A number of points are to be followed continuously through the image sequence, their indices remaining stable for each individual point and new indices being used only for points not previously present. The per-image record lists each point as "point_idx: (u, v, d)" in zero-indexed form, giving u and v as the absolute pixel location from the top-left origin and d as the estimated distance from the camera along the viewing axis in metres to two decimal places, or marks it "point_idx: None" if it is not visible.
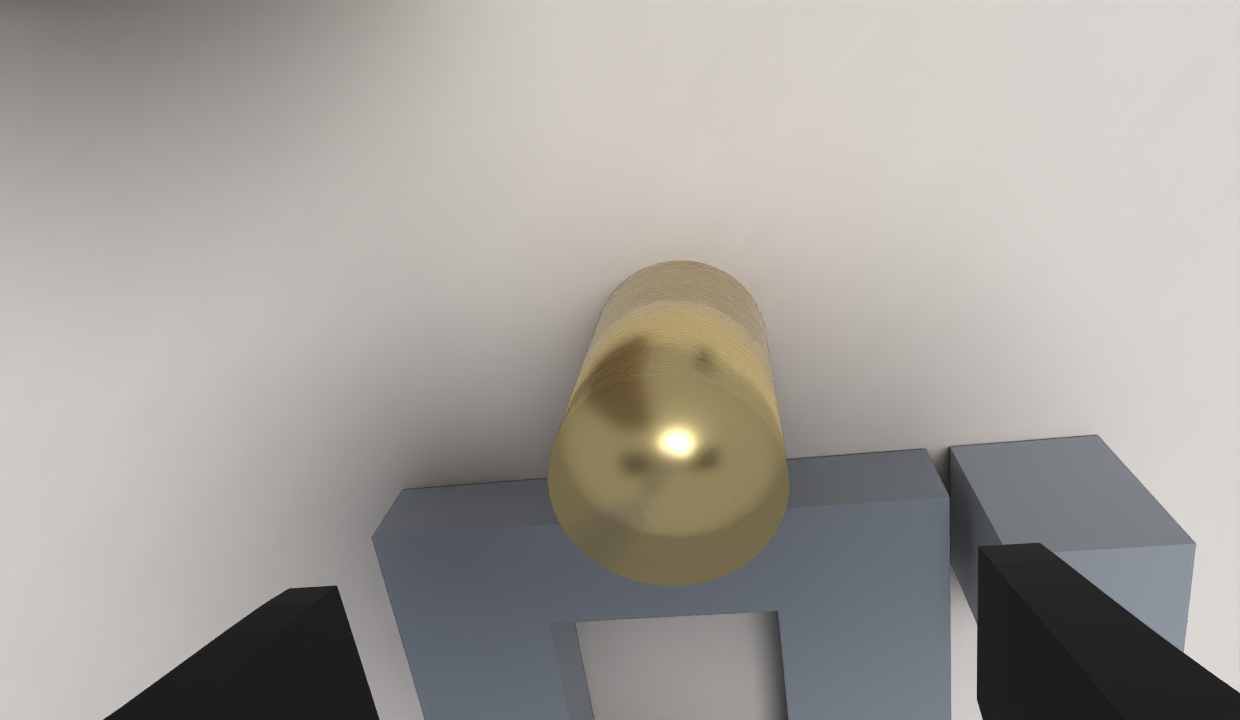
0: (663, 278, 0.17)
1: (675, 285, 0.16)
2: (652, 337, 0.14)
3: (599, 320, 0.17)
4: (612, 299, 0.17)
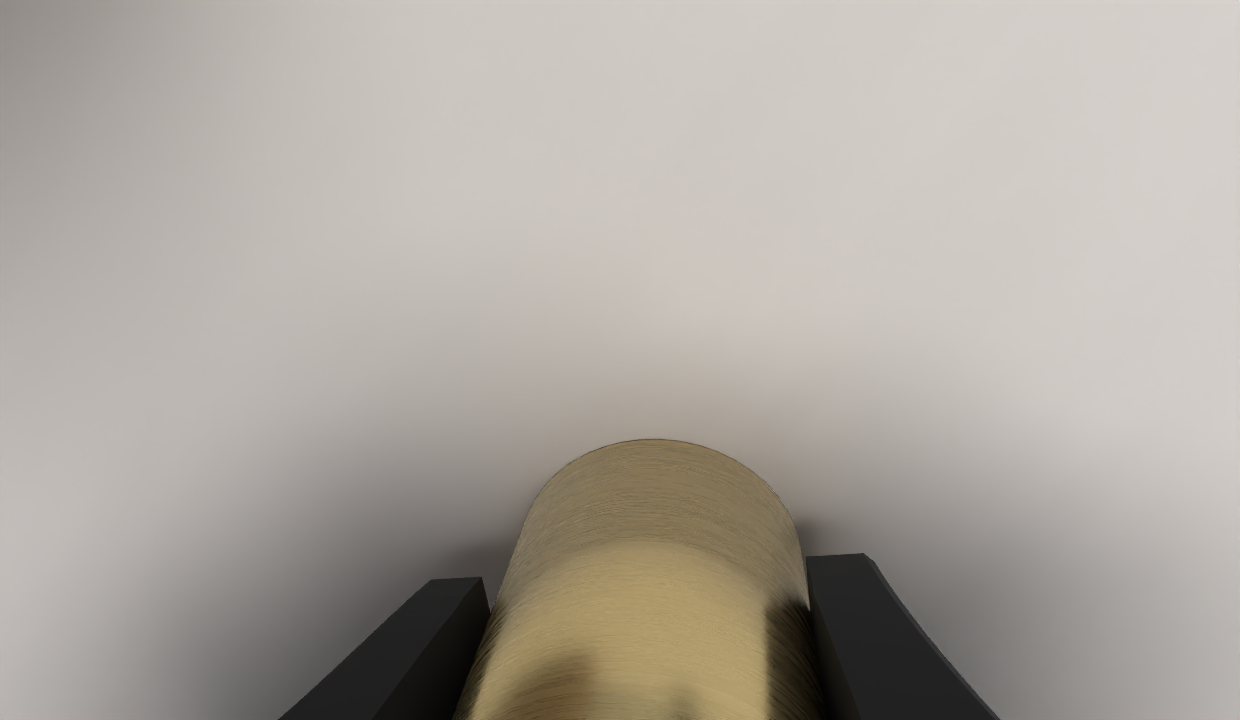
0: (624, 491, 0.09)
1: (644, 515, 0.09)
2: None
3: (516, 545, 0.10)
4: (538, 511, 0.10)
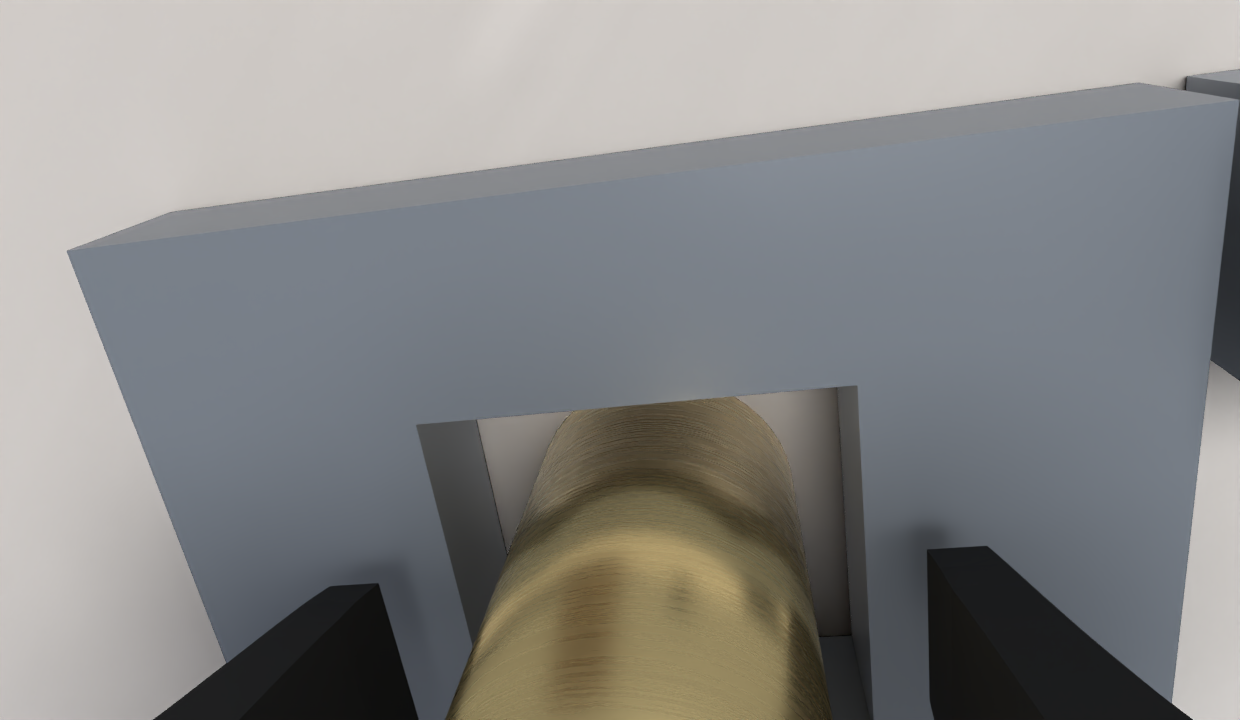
0: (638, 416, 0.11)
1: (656, 434, 0.10)
2: (607, 577, 0.08)
3: None
4: (560, 438, 0.11)
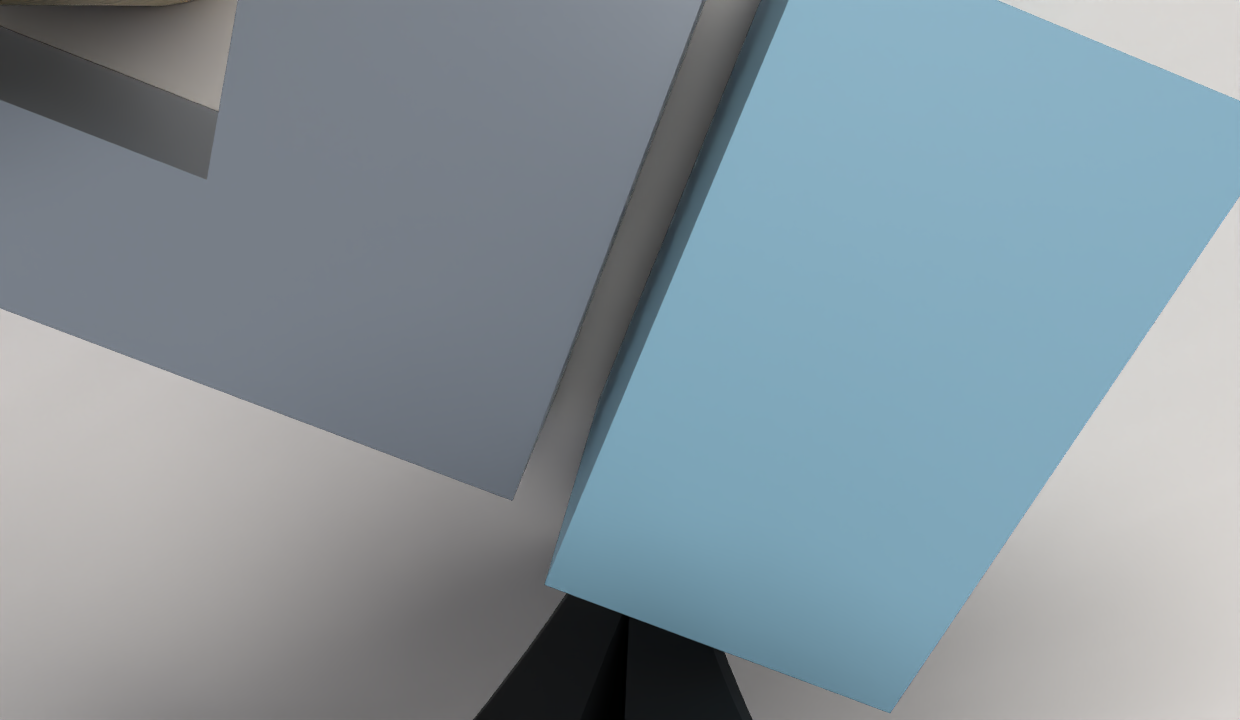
0: None
1: None
2: None
3: None
4: None
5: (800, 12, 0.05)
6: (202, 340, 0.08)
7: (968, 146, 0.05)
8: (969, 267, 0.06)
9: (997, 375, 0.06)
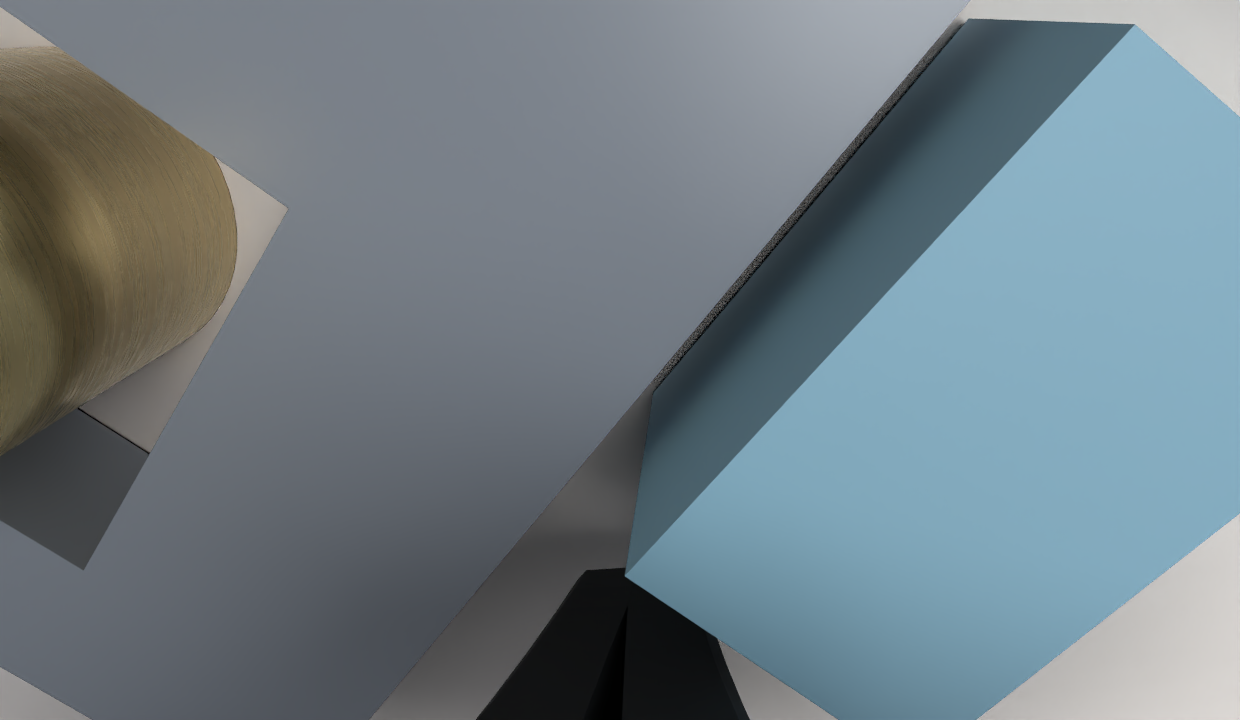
0: None
1: None
2: None
3: None
4: None
5: (1084, 98, 0.05)
6: (52, 665, 0.10)
7: (1188, 271, 0.05)
8: (1145, 382, 0.06)
9: (1132, 485, 0.06)
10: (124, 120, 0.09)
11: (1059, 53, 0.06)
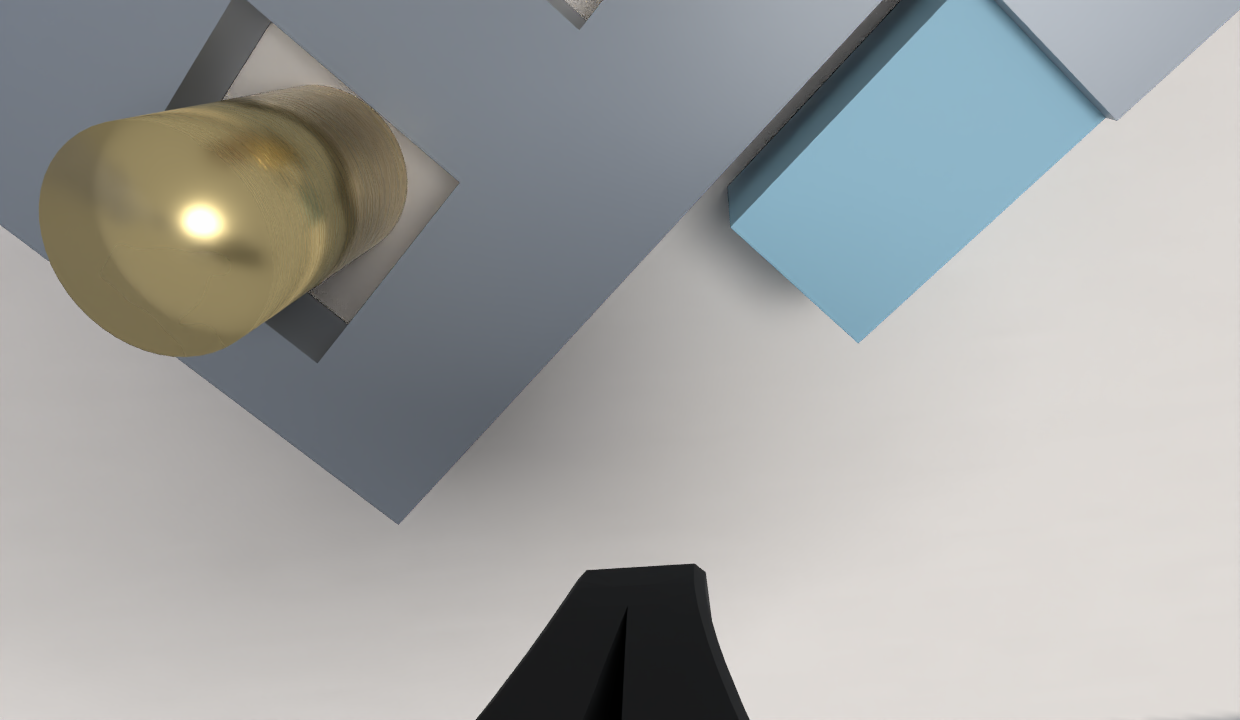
0: None
1: None
2: None
3: None
4: None
5: (950, 5, 0.13)
6: (287, 419, 0.18)
7: (989, 84, 0.13)
8: (971, 135, 0.13)
9: (965, 187, 0.14)
10: (369, 130, 0.17)
11: None
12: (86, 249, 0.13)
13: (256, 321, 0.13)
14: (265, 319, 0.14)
